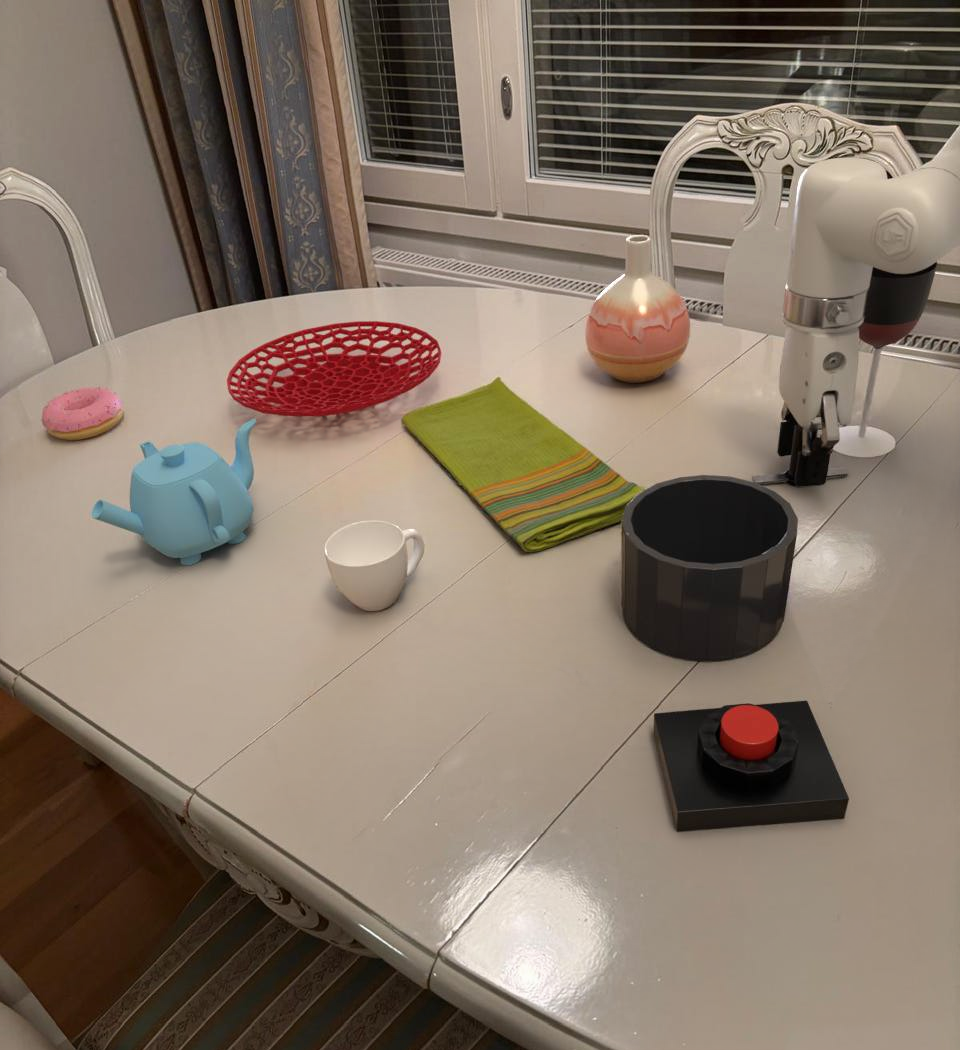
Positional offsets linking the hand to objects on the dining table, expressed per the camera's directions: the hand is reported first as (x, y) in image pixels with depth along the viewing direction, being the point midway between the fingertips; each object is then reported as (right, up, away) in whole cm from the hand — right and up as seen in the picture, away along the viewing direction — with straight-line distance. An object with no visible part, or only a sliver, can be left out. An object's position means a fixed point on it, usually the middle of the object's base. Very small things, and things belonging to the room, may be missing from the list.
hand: (800, 467), depth 99 cm
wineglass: (+9, +4, +6) cm, 12 cm away
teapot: (-67, -7, +4) cm, 67 cm away
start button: (-15, -26, -32) cm, 44 cm away
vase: (-14, +17, +25) cm, 34 cm away
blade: (0, -1, +1) cm, 1 cm away
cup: (-44, -14, -8) cm, 47 cm away
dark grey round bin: (-14, -16, -14) cm, 26 cm away
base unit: (-15, -29, -30) cm, 44 cm away
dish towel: (-31, +2, +9) cm, 32 cm away
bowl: (-54, +15, +29) cm, 63 cm away
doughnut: (-90, +11, +30) cm, 96 cm away
